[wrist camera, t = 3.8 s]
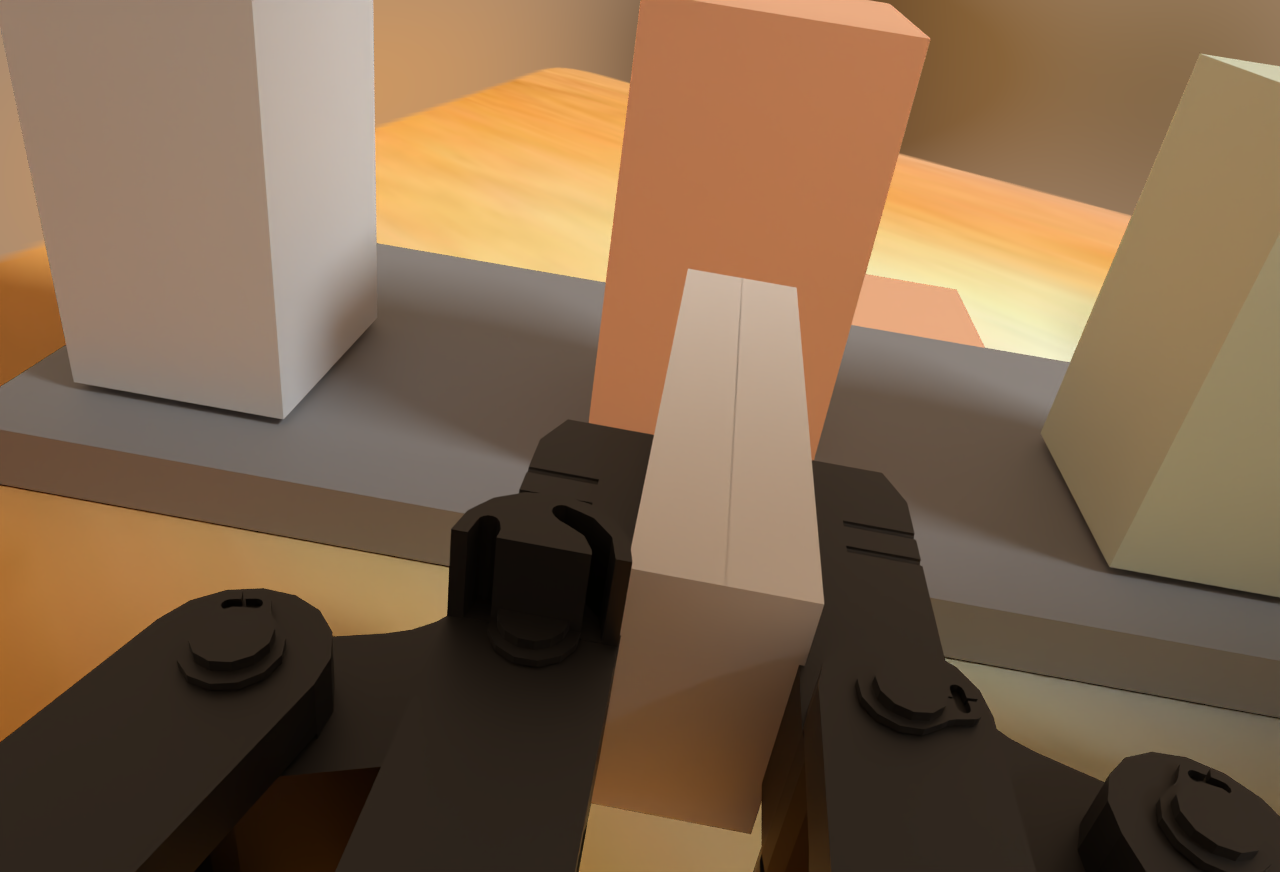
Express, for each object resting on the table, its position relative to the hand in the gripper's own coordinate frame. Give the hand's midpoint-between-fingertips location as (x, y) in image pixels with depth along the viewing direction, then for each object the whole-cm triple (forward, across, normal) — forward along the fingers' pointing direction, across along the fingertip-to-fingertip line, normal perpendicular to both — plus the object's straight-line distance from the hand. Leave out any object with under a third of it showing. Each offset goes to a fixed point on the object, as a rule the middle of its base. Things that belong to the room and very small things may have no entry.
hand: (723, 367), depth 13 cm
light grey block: (+9, -12, -6) cm, 16 cm away
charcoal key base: (+11, 0, -8) cm, 13 cm away
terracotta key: (+9, 0, -6) cm, 10 cm away
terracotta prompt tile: (+23, +7, -8) cm, 25 cm away
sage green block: (+9, +12, -6) cm, 16 cm away
